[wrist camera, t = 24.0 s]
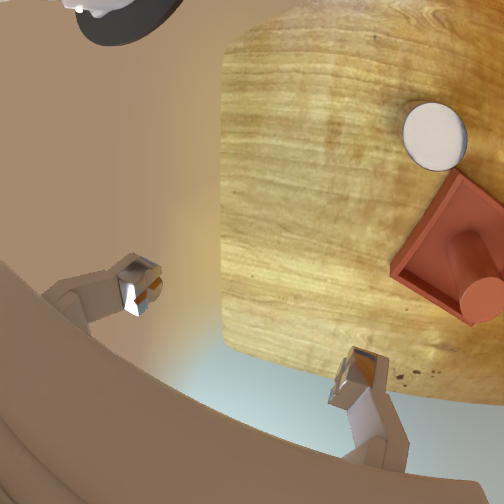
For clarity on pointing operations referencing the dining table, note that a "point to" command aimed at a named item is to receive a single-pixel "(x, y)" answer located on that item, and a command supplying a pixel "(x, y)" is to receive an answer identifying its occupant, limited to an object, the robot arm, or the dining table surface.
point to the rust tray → (448, 240)
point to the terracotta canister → (475, 277)
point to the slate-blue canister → (431, 134)
